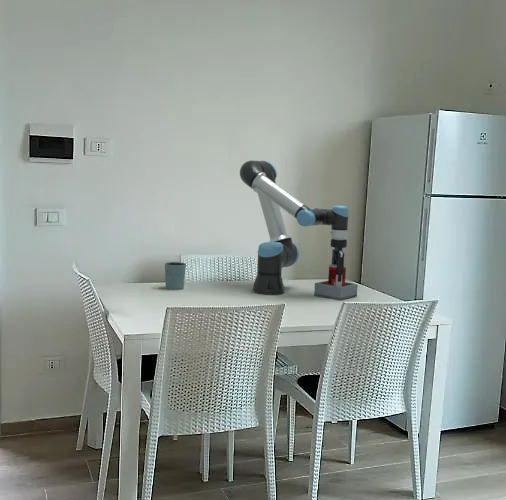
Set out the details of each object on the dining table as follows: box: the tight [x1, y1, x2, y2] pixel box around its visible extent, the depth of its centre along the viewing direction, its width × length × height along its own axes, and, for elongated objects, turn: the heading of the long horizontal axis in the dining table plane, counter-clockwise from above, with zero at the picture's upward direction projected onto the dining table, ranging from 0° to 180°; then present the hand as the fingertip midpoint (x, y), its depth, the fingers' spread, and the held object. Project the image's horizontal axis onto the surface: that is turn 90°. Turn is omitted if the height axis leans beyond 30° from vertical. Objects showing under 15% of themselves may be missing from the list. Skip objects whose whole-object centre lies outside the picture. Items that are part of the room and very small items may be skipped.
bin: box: [313, 280, 359, 301], centre depth 327 cm, size 15×15×6 cm
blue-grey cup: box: [164, 261, 187, 291], centre depth 329 cm, size 10×10×12 cm
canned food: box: [327, 263, 347, 287], centre depth 327 cm, size 8×8×11 cm
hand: (336, 286), depth 327 cm, fingers closed on canned food, 8 cm apart
